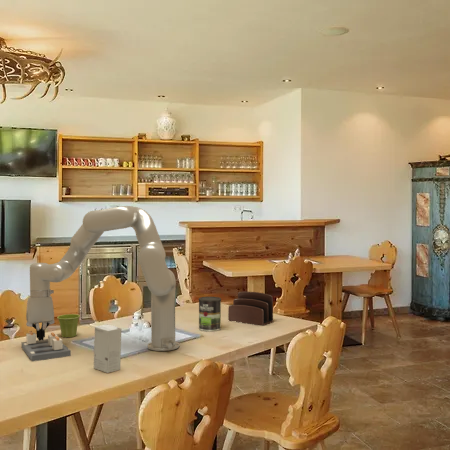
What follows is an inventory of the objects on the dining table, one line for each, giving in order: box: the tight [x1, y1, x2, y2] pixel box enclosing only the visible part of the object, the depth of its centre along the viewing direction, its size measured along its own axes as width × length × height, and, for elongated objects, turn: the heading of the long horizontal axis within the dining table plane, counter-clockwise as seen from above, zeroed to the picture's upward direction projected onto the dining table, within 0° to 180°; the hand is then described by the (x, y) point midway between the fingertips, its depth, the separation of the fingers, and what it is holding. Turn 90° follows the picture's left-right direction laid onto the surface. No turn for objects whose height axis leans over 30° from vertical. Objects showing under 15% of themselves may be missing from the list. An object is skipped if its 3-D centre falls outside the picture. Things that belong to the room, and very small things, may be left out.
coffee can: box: [198, 296, 222, 332], centre depth 243 cm, size 10×10×14 cm
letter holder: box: [227, 291, 274, 327], centre depth 258 cm, size 10×20×14 cm, turn 56°
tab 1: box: [25, 330, 37, 344], centre depth 211 cm, size 4×3×4 cm
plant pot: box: [57, 313, 81, 338], centre depth 231 cm, size 9×9×9 cm
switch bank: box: [21, 338, 72, 362], centre depth 207 cm, size 22×14×2 cm, turn 30°
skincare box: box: [93, 324, 122, 374], centre depth 184 cm, size 8×6×15 cm
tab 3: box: [52, 336, 63, 350], centre depth 202 cm, size 4×3×4 cm
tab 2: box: [47, 332, 59, 346], centre depth 208 cm, size 4×3×4 cm
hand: (40, 339), depth 213 cm, fingers closed
